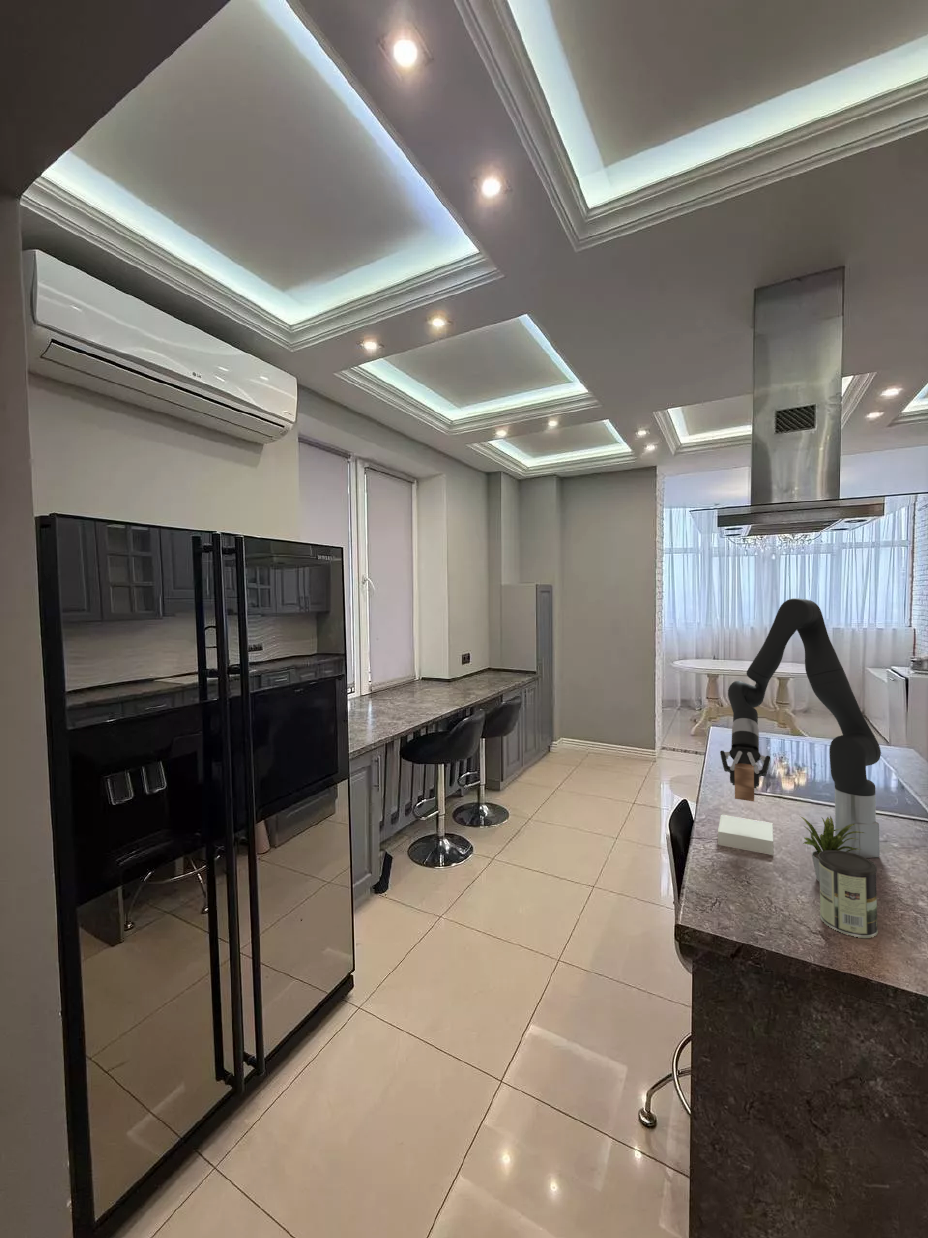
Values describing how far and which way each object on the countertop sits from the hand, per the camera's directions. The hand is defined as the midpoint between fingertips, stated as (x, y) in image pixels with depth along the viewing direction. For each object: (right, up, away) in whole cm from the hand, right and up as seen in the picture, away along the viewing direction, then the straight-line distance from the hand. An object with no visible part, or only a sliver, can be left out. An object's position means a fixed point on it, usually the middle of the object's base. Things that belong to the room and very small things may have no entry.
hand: (744, 785), depth 150 cm
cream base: (+1, -17, +2) cm, 17 cm away
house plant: (+10, -17, -23) cm, 31 cm away
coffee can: (+1, -18, -39) cm, 43 cm away
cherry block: (+1, -4, +2) cm, 5 cm away
